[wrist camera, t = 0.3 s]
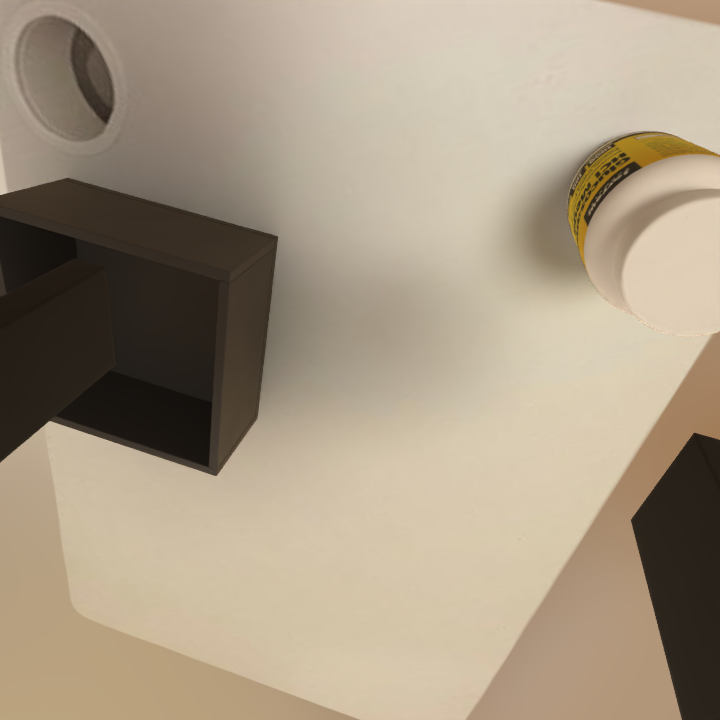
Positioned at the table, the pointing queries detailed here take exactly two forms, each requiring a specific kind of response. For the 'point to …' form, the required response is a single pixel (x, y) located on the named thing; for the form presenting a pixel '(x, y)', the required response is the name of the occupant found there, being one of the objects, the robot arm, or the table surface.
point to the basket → (155, 314)
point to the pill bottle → (652, 230)
